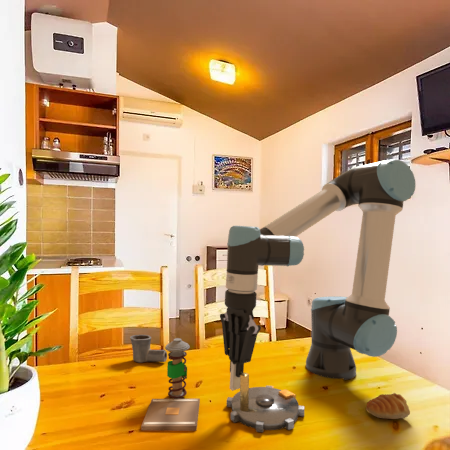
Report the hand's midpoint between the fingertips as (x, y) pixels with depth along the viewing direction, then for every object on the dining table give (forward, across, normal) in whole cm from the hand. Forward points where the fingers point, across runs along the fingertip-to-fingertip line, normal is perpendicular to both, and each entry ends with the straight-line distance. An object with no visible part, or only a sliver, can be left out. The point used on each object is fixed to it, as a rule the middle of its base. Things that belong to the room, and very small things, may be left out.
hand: (235, 388), depth 83 cm
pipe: (+8, -41, -4) cm, 42 cm away
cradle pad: (+7, -7, -13) cm, 16 cm away
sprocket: (+5, +4, +6) cm, 9 cm away
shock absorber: (+7, -15, -7) cm, 18 cm away
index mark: (+5, -3, +15) cm, 16 cm away
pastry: (+5, +19, +28) cm, 34 cm away
